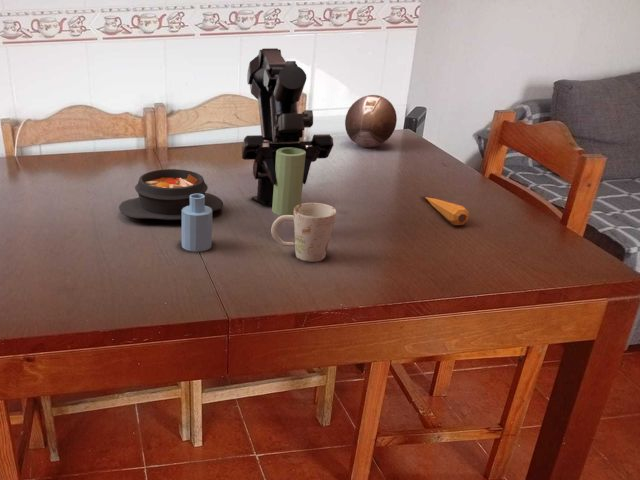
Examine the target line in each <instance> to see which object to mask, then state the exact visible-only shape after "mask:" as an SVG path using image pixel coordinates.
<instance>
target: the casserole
mask: <svg viewBox="0 0 640 480" xmlns="http://www.w3.org/2000/svg"><path fill="white" fill-rule="evenodd" d="M134 190H135V192H136V193H137V194H138V197H134V198H129V199H126V200H124V201H122V202H121V203H120V204H119V206H118V209H119V211H120V212H121V213H122V214H123V215H125V216H127V217H129V218H132V219H140V220H147V219H149V220H151V219H152V220H160V221H168V222H169V221H171V222H172V221H173V222H174V221H182V209H183V208H184V207H186V206H190V195H191V194H203V195H205V206H208V207H210V208H212V212H214V211H219V210H220V209H222V208H223V207H224V201H223V200H222V199H221V198H220V197H218V196H217V195H215V194H212V193H209V192H207V191H208V185H207V183H206V182H205V179H204V177H203V175H201V174H199V173H198V172H195V171H192V170H187V169H175V168H166V169H156V170H151V171H148V172H146V173H143V174H142V175H140V177H139V178H138V181H137V183H136V184H135V186H134Z"/></svg>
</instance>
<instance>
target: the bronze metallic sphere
mask: <svg viewBox="0 0 640 480" xmlns="http://www.w3.org/2000/svg"><path fill="white" fill-rule="evenodd" d="M397 121H398V117H397V112H396V109H395V107H394V105H393V104H392V102H390V101H389V99H387V98H386V97H384V96H381V95H378V94H368V95H365V96H362V97H359V98H358V99H357V100H355V101H354V102H353V103H352V104H351V105H350V107H349V108H348V110H347V112H346V115H345V119H344V127H345V131H346V134H347V136H348V138H349V139H350V140H351V141H352V142H353V143H355V144H356V145H358V146H360V147H363V148H374V147H378V146H381V145H382V144H384V143H385V142H387V141H388V140H389V139H390V138H391V136H392V135H393V133H395V129H396V127H397Z"/></svg>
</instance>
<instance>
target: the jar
mask: <svg viewBox="0 0 640 480" xmlns="http://www.w3.org/2000/svg"><path fill="white" fill-rule="evenodd" d="M305 156H306V151H305V150H302V149H299V148H292V147H288V148H280V149H278V150H277V151H276V162H275V175H276V184H275V185H274V190H273V204H272V205H271V206H272V207H271V208H272V209H271V211H272V213H273V214H275V215H278V216H282V215H294V208H295V207H296V206H297V205H299V204H302V197H303V188H304V184H303V177H304V166H305Z"/></svg>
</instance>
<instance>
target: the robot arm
mask: <svg viewBox="0 0 640 480" xmlns="http://www.w3.org/2000/svg"><path fill="white" fill-rule="evenodd" d="M246 74H247V75H246V82H247V85H249V89H250V94H251V96H253V97H254V98H255V99H256V100H257V103H258V112H259V124H260V134H261V135H255V134H254V135H252V134H251V135H246V136H245V137H244V138H243V143H242V146H241V159H243V160H245V161H247V160H248V161H249V160H253V164H252V175H253V178H254V179H255V180H257V191H256V195H255V196H251V199H252V201H254V202H257V203H259V204H261V205H262V206H265V207H270V206H272V204H273V190H274V185H275V184H276V175H275V162H276V151H277V150H278V149H280V148H288V147H292V148H299V149H302V150H305V151H306V156H305V166H304V177H303V185H306V184H307V181H308V177H309V176H308V175H309V172H310V168H311V164H312V163H314V162H316V161H317V159H327V158H329V156H330V154H331V152H332V150H333V148H334V138H333V137H332V135H330V134H327V133H326V134H323V133H322V134H313V135H312V138H311V140H305V141H304V140H303V141H302V140H301V139H302V138H303V136H304V131H305V128H307V129H308V128H311V127H313V125H314V113H313V110H312V109H311V110H303V111H302V113H300V112H299V110H298V108H299V107H298V102H299V101H300V100H301V97H302V94H303V91H304V88H305V85H306V82H307V74H306V72H305V71H304V69H303V68H302V67H300V66H298V64H297V62H296V60H285V58H284V57H283V55H282V51H281V49H279V48H277V47H276V48H275V47H274V48H273V47H272V48H271V47H269V48H267V47H266V48H265V47H264V48H261V49H259V50H258V54H257V55H256V56H255V57H254V58H253V59H251V60H250V61H249V64H248V68H247V73H246Z"/></svg>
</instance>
